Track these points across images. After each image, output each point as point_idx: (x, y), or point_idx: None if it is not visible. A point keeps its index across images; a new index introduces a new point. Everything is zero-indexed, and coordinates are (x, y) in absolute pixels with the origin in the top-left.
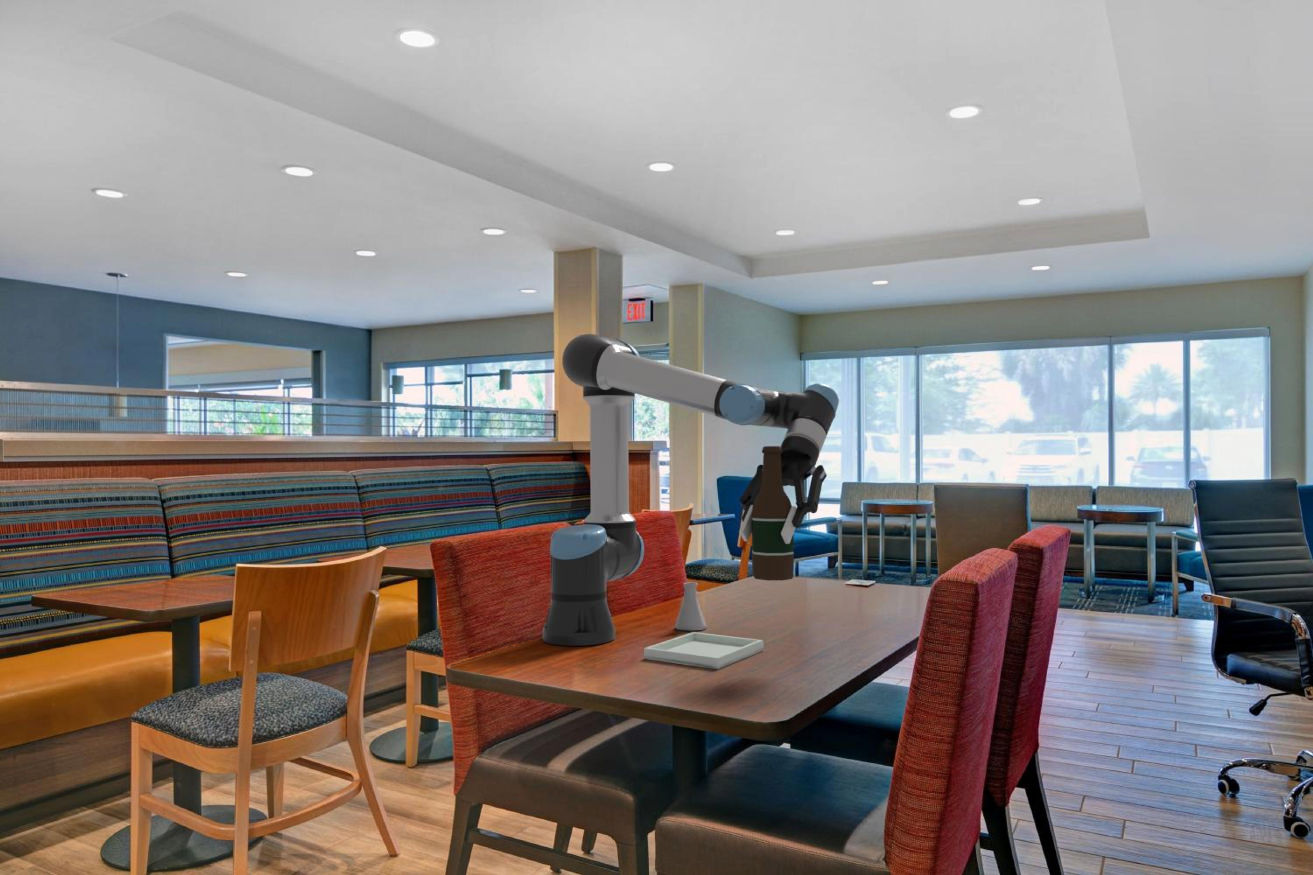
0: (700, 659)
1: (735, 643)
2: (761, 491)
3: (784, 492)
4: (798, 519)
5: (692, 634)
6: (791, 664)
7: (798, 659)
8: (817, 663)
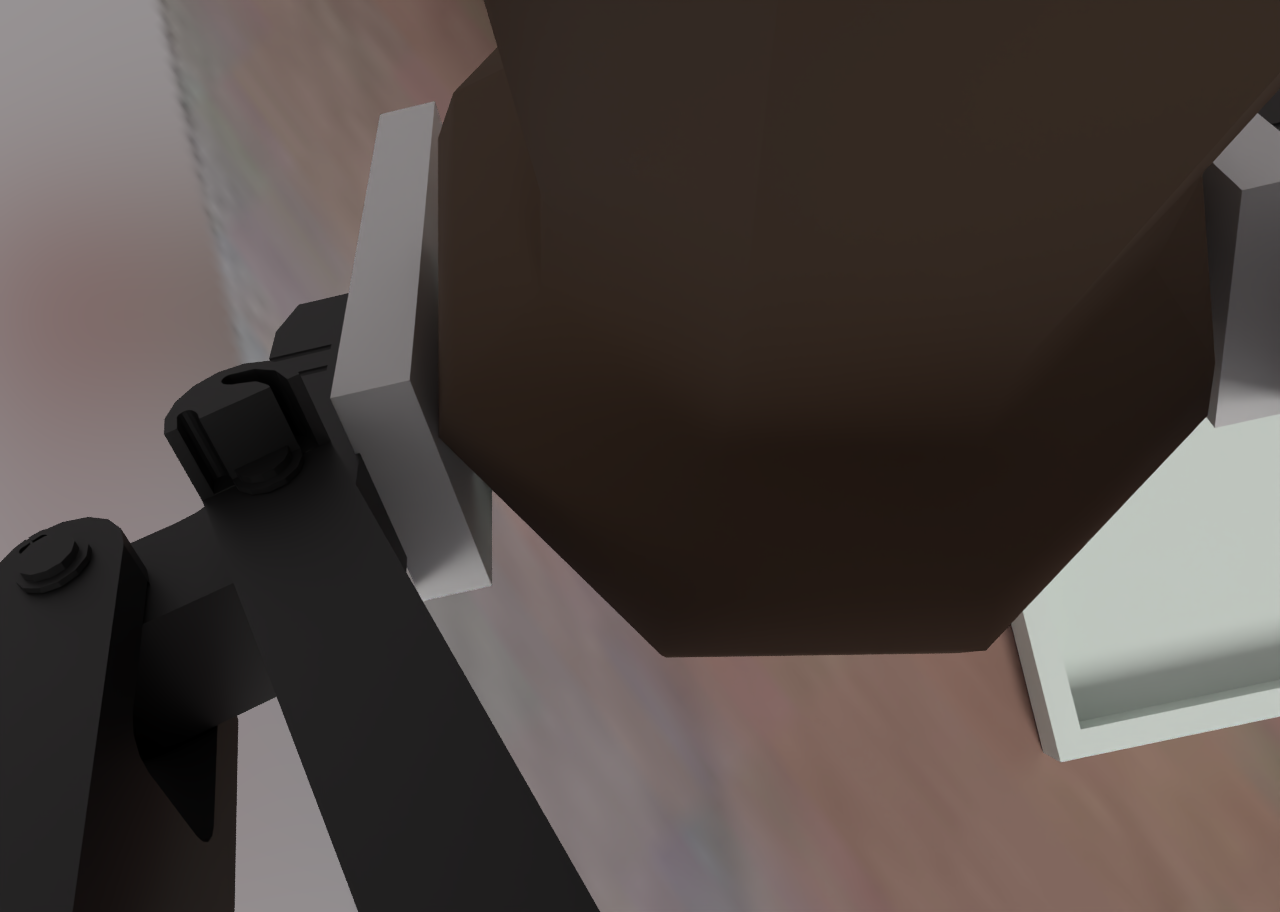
0: None
1: (1232, 689)
2: None
3: (523, 292)
4: (275, 338)
5: None
6: None
7: (738, 703)
8: (599, 696)
